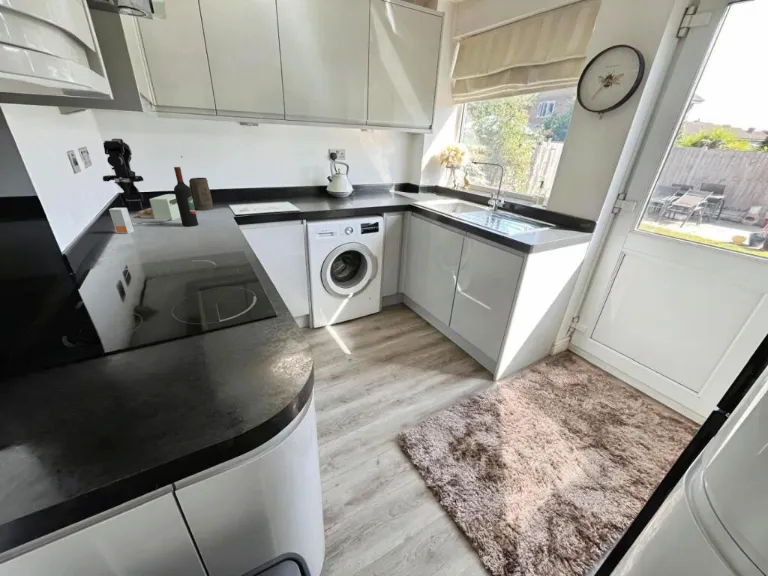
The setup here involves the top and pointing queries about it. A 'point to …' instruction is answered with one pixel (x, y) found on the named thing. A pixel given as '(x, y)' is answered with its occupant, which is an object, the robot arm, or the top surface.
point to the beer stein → (201, 193)
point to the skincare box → (121, 220)
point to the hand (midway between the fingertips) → (127, 194)
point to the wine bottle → (184, 201)
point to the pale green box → (165, 207)
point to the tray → (146, 213)
